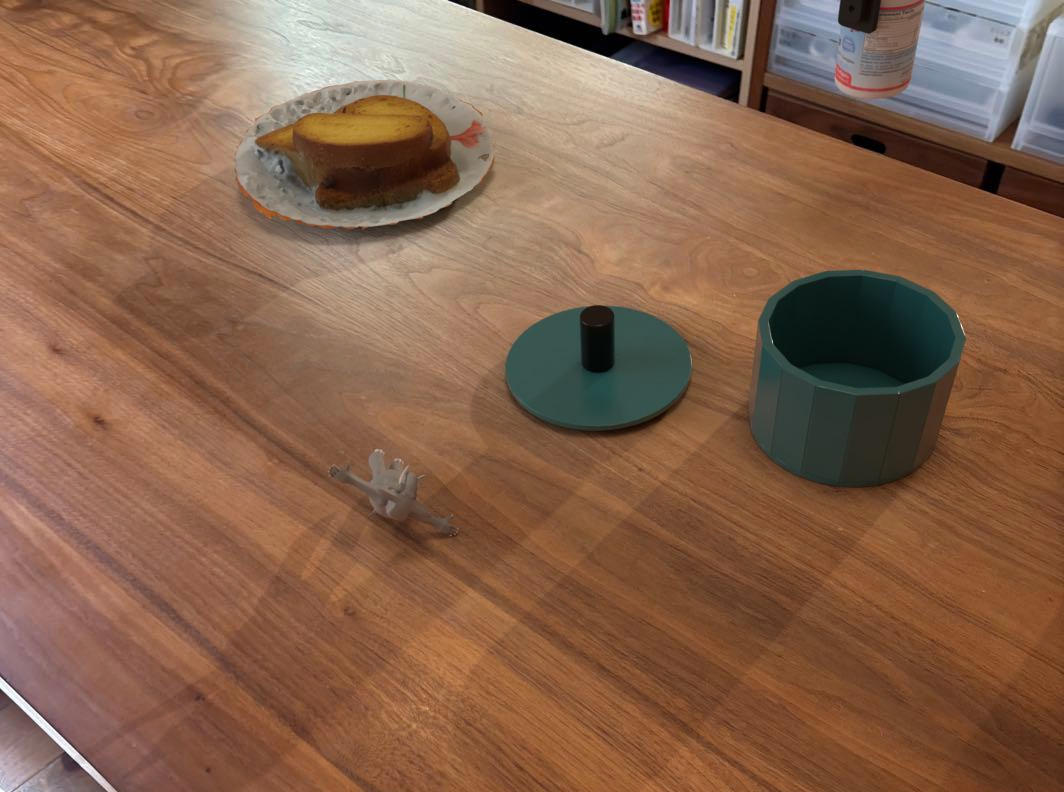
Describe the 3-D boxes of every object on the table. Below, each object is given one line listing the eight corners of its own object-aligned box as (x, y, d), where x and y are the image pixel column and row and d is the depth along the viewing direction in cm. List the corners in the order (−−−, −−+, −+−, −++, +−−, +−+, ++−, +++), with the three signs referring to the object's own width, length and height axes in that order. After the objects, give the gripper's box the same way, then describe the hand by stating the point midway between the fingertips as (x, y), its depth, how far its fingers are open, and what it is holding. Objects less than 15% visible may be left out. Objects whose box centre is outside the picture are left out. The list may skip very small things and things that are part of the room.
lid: (595, 294, 93) (594, 236, 89) (729, 368, 86) (735, 309, 82) (468, 377, 87) (461, 320, 83) (601, 465, 80) (600, 407, 76)
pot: (821, 339, 88) (837, 247, 81) (974, 417, 81) (1004, 323, 74) (711, 425, 82) (718, 333, 76) (864, 516, 75) (887, 424, 69)
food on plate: (448, 86, 119) (441, 24, 114) (535, 199, 104) (532, 134, 99) (216, 143, 114) (198, 82, 109) (271, 272, 99) (253, 207, 94)
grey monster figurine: (465, 461, 81) (486, 513, 73) (422, 526, 83) (438, 584, 75) (344, 397, 77) (353, 444, 69) (303, 467, 79) (306, 521, 71)
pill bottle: (831, 68, 94) (849, -75, 86) (906, 67, 93) (931, -78, 85) (835, 103, 90) (854, -44, 82) (913, 102, 89) (940, -47, 81)
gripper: (898, -221, 68) (857, 66, 82) (1045, -288, 76) (986, -14, 89) (798, -237, 72) (775, 40, 86) (947, -299, 80) (904, -35, 93)
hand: (883, 10), depth 87 cm, fingers closed on pill bottle, 6 cm apart
